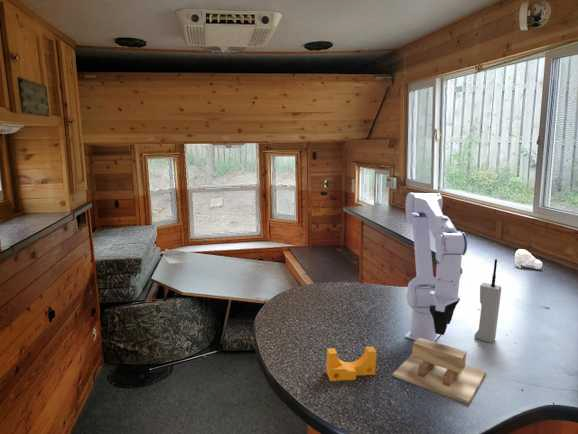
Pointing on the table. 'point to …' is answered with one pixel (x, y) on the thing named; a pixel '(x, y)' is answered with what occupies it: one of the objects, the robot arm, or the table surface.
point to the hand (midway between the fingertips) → (442, 328)
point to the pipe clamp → (350, 365)
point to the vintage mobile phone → (489, 309)
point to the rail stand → (442, 379)
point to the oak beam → (439, 355)
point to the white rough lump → (526, 259)
